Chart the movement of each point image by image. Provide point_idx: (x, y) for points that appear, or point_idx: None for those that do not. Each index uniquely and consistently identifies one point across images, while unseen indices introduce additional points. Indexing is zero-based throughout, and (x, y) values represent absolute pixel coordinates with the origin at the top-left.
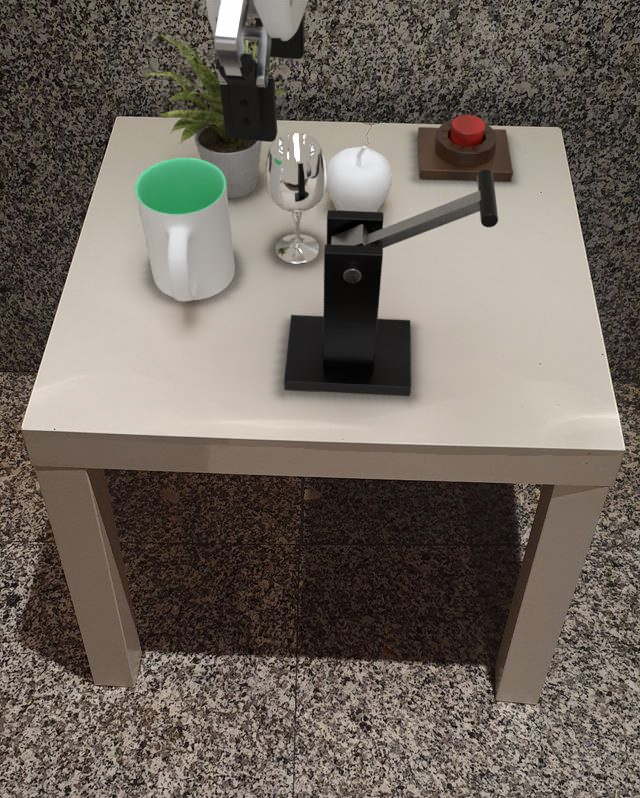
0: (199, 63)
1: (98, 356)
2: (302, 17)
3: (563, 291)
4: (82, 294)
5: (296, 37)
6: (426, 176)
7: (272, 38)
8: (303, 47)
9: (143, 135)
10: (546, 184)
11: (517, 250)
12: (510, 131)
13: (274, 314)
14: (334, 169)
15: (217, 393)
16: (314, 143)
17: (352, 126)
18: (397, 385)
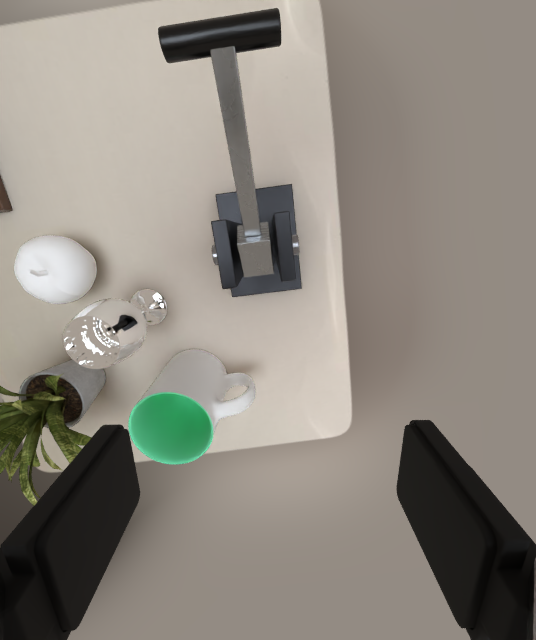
0: None
1: (291, 415)
2: (58, 498)
3: (128, 34)
4: (237, 441)
5: (102, 468)
6: (7, 203)
7: (117, 508)
8: (105, 436)
9: (54, 454)
10: None
11: (83, 92)
12: None
13: (226, 310)
14: (62, 295)
15: (310, 332)
16: (70, 324)
17: None
18: (291, 196)
